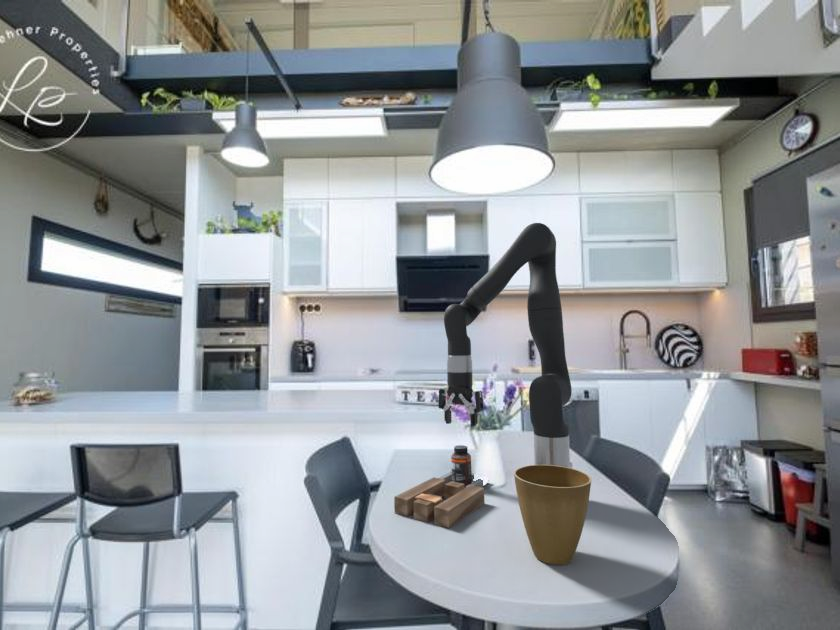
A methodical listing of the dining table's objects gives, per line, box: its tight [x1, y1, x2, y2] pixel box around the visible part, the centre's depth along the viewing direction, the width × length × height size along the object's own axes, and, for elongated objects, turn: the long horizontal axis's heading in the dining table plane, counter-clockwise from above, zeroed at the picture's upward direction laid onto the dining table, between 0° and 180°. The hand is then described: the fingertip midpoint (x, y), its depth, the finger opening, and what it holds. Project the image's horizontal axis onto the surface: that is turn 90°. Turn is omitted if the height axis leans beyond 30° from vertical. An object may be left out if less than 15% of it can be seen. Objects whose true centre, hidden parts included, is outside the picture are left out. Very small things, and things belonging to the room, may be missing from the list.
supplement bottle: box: [450, 444, 473, 489], centre depth 128 cm, size 6×6×11 cm
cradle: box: [438, 470, 484, 489], centre depth 128 cm, size 12×12×2 cm
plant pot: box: [513, 464, 592, 566], centre depth 87 cm, size 15×15×16 cm
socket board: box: [393, 477, 485, 529], centre depth 111 cm, size 16×18×4 cm
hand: (460, 424), depth 129 cm, fingers open, 8 cm apart
